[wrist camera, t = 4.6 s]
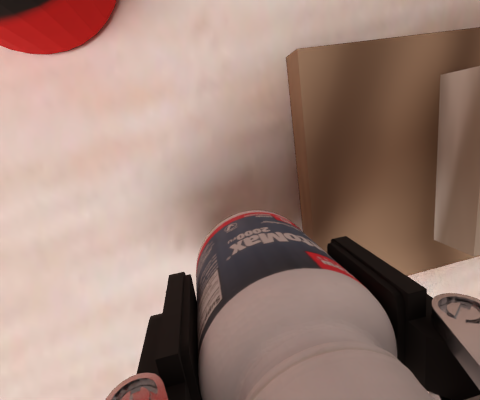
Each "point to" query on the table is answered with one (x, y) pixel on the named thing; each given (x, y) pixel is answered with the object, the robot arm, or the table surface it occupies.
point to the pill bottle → (289, 320)
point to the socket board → (391, 145)
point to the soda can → (51, 23)
